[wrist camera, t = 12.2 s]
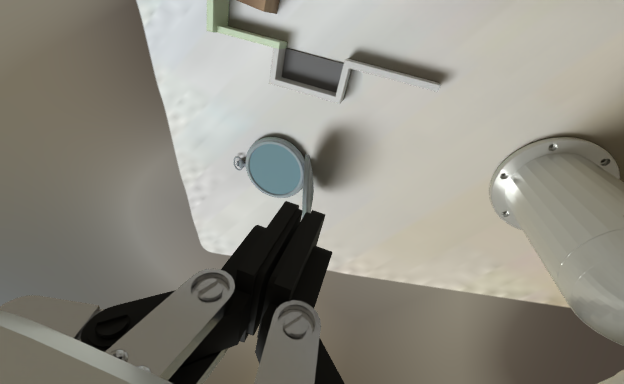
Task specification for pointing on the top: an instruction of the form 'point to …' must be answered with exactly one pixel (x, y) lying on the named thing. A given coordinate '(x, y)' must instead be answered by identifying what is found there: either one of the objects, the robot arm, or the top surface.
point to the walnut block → (263, 5)
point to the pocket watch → (279, 170)
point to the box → (306, 63)
